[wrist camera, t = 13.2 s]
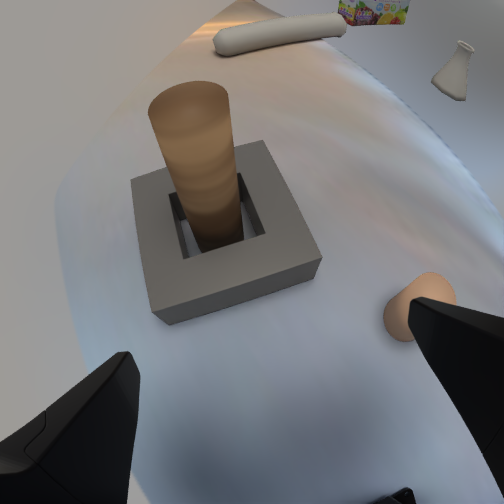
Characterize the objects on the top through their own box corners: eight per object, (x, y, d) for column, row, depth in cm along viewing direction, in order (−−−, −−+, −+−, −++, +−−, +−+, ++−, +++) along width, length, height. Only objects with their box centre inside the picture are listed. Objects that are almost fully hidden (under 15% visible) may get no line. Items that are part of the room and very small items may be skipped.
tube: (222, 43, 36) (350, 23, 40) (208, 25, 36) (333, 7, 40) (220, 66, 41) (341, 41, 45) (208, 48, 41) (325, 25, 46)
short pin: (431, 329, 21) (464, 313, 17) (394, 349, 21) (424, 338, 16) (412, 288, 23) (441, 264, 19) (375, 305, 23) (400, 284, 18)
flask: (470, 98, 37) (489, 56, 28) (457, 106, 35) (478, 59, 26) (440, 75, 40) (455, 33, 31) (423, 81, 38) (439, 34, 29)
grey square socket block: (313, 278, 24) (322, 257, 20) (168, 325, 22) (151, 312, 19) (263, 169, 29) (262, 139, 25) (144, 205, 28) (130, 179, 24)
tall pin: (250, 251, 25) (238, 113, 12) (203, 265, 25) (151, 138, 12) (235, 212, 27) (217, 74, 14) (192, 226, 26) (145, 94, 14)
